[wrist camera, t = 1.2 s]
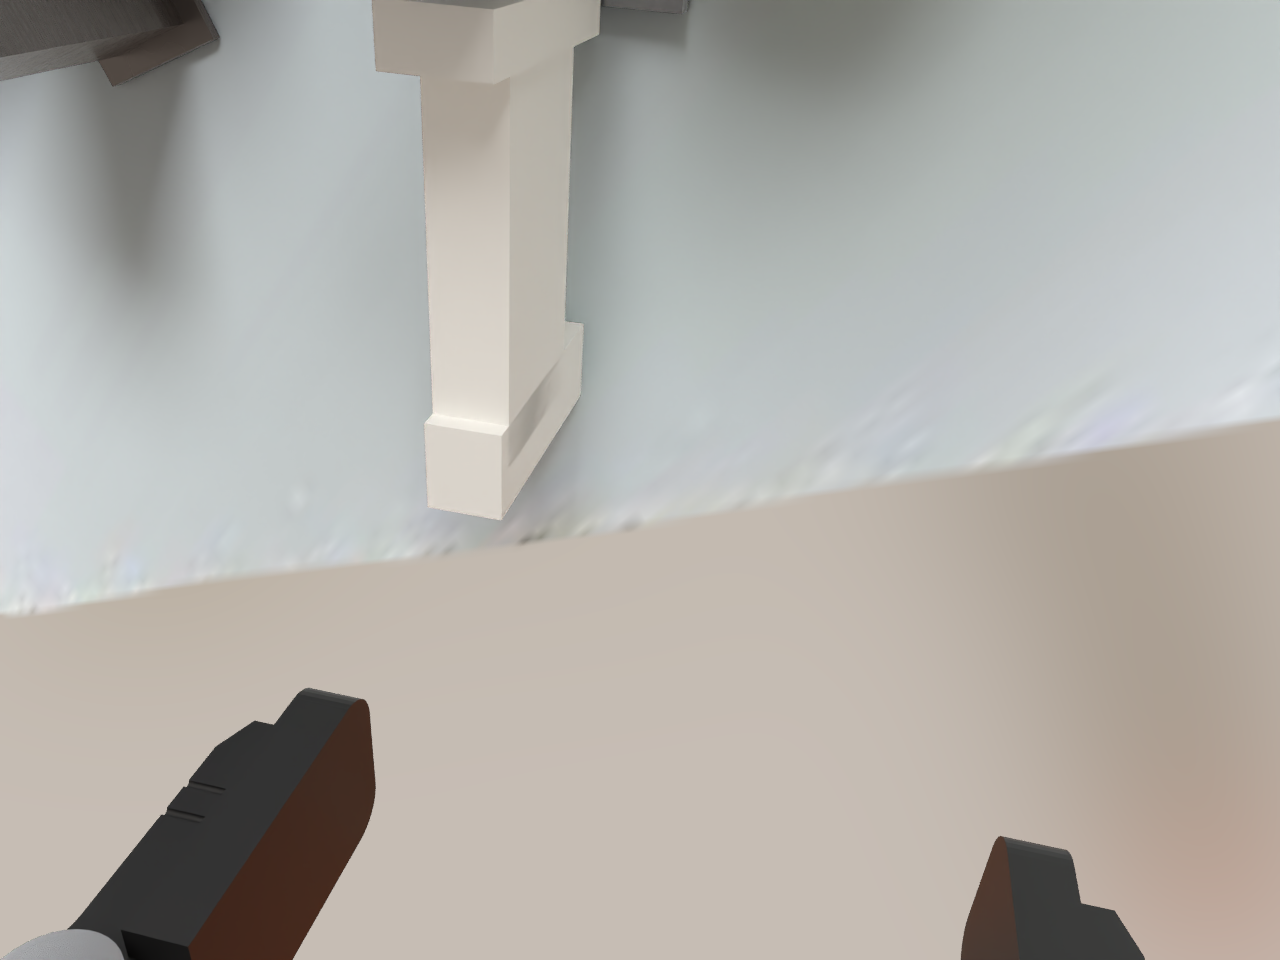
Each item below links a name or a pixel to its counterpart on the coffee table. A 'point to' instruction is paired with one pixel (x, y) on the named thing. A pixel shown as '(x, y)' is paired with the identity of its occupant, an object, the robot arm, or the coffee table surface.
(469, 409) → the gate
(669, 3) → the post
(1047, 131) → the coffee table surface
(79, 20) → the post
